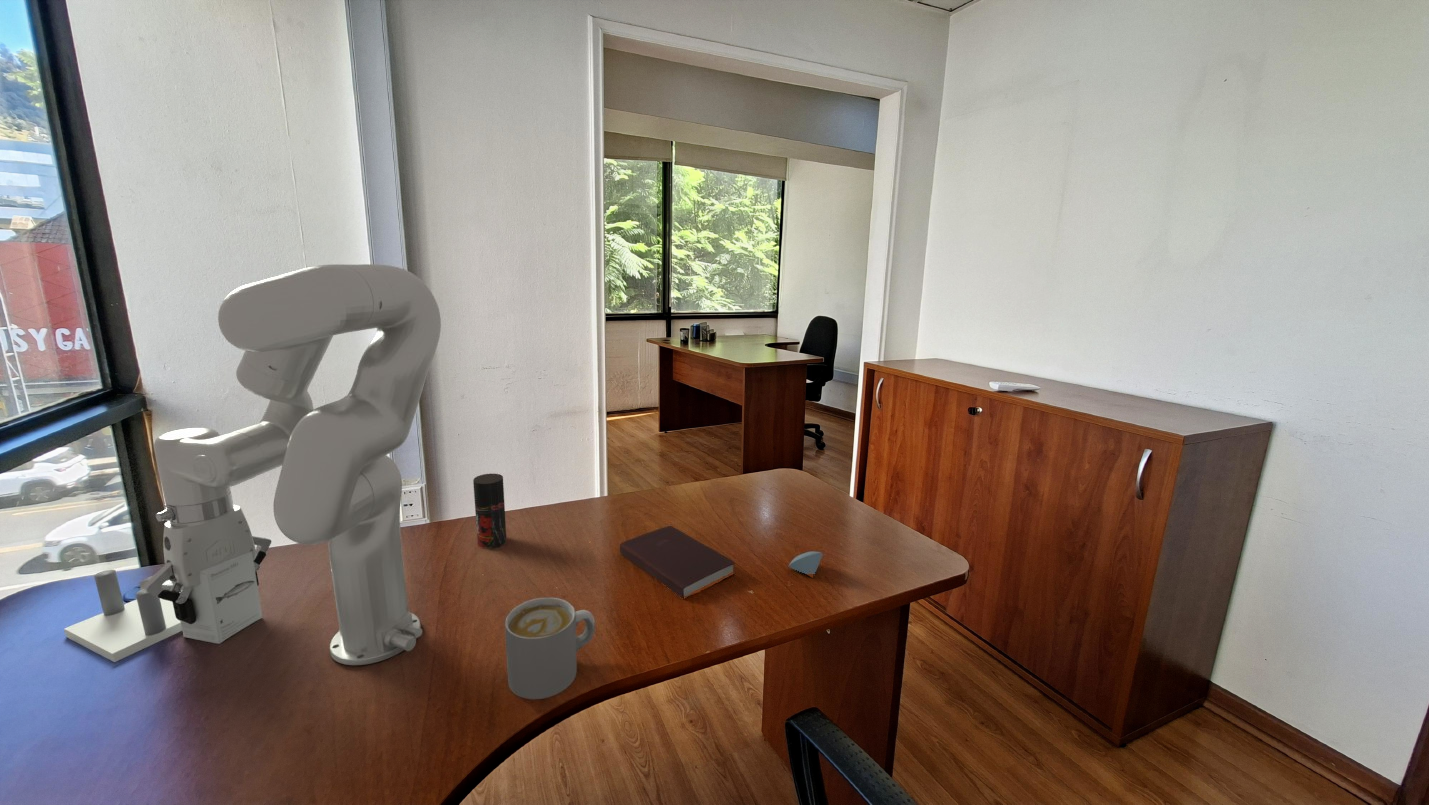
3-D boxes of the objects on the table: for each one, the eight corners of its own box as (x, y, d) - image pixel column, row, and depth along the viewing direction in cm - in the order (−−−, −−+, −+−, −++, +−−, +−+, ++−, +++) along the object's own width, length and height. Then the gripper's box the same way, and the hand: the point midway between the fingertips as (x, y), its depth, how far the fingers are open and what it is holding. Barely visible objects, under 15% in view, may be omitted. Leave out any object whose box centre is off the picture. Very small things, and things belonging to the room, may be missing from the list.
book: (682, 602, 104) (682, 585, 103) (618, 556, 120) (619, 540, 119) (735, 577, 113) (736, 561, 113) (670, 537, 129) (671, 523, 128)
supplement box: (219, 645, 88) (205, 573, 85) (182, 637, 89) (166, 566, 86) (265, 617, 95) (253, 550, 92) (229, 610, 96) (216, 544, 93)
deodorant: (512, 541, 124) (508, 477, 120) (489, 551, 119) (484, 486, 115) (495, 533, 127) (491, 471, 123) (471, 543, 122) (467, 479, 118)
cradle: (203, 621, 93) (194, 575, 91) (115, 662, 83) (102, 612, 81) (154, 599, 98) (144, 556, 96) (65, 636, 88) (52, 588, 86)
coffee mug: (513, 708, 78) (510, 646, 75) (503, 663, 86) (500, 606, 84) (606, 679, 84) (606, 621, 81) (589, 640, 92) (588, 586, 90)
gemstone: (836, 568, 111) (826, 544, 114) (802, 579, 109) (792, 554, 111) (823, 578, 118) (813, 555, 120) (790, 588, 115) (782, 565, 118)
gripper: (142, 536, 78) (166, 644, 82) (277, 492, 93) (292, 584, 97) (112, 525, 80) (138, 631, 84) (248, 484, 96) (264, 575, 100)
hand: (220, 605), depth 91 cm, fingers open, 8 cm apart
